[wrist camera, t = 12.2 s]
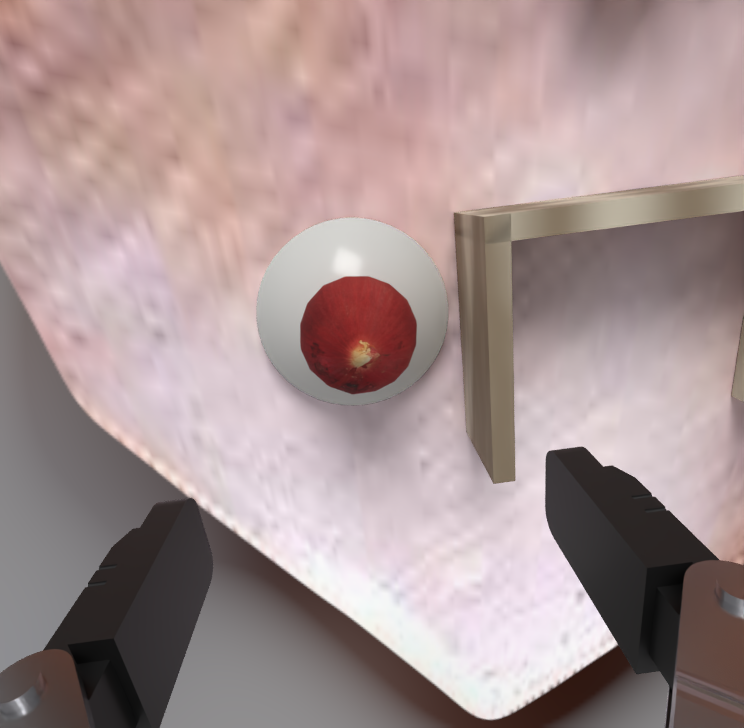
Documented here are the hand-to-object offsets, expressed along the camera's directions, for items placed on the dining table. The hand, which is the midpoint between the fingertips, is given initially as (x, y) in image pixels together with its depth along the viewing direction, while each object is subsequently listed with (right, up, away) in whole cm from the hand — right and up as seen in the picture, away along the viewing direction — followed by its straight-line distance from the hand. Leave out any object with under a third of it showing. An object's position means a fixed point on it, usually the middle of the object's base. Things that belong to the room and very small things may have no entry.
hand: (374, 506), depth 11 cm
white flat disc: (-1, +6, +17) cm, 18 cm away
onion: (-1, +6, +16) cm, 17 cm away
